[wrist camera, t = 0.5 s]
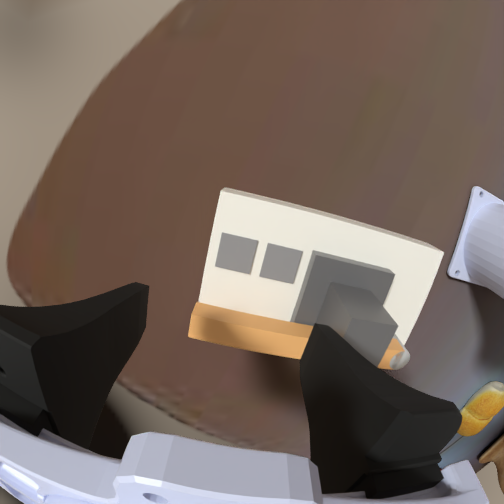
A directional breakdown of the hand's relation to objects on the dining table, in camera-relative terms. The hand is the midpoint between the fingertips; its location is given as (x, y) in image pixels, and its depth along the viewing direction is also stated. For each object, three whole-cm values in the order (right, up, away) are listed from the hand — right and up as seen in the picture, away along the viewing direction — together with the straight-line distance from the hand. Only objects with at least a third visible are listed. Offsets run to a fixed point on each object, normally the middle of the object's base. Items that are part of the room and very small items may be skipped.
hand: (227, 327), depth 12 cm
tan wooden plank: (+5, -2, +8) cm, 9 cm away
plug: (+7, +1, +9) cm, 12 cm away
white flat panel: (+6, +1, +9) cm, 11 cm away
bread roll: (+32, -18, +15) cm, 40 cm away
